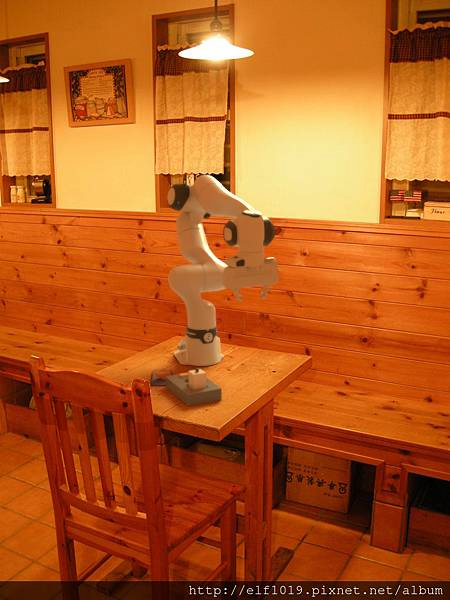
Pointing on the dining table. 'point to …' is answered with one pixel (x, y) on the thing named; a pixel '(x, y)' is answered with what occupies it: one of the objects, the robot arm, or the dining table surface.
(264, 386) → the dining table surface
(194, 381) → the block with round knob
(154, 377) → the smartphone
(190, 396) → the grey rectangular box
